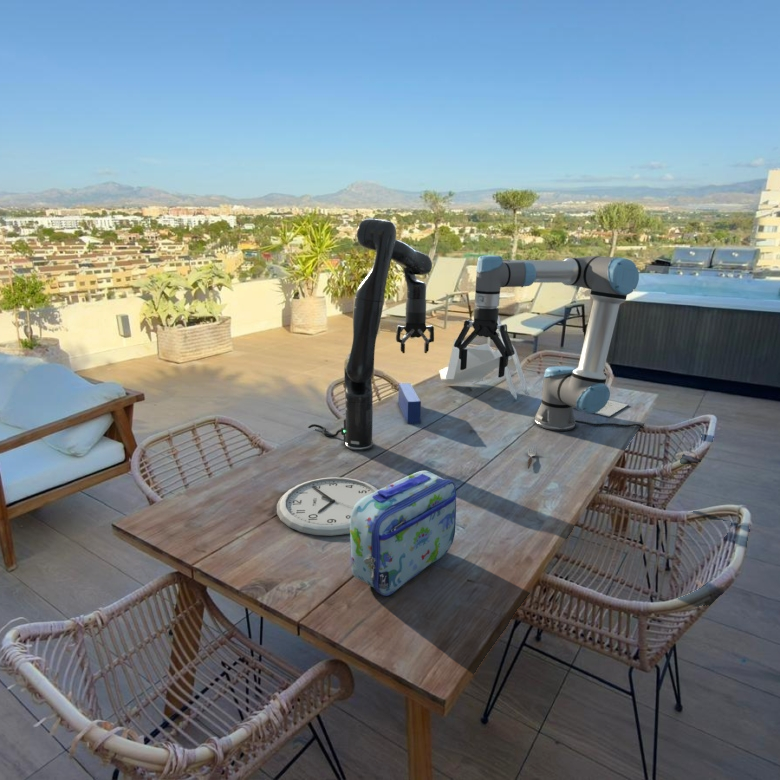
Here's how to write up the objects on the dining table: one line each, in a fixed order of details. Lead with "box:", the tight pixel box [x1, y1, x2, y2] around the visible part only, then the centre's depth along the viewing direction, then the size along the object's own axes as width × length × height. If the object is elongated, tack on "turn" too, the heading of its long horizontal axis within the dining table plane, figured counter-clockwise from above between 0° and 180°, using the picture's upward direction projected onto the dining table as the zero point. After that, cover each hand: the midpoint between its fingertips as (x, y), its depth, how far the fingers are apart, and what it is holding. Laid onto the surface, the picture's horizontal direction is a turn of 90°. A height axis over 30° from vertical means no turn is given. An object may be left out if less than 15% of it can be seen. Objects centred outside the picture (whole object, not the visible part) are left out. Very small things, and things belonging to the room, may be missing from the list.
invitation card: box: [595, 399, 629, 418], centre depth 226 cm, size 21×1×15 cm
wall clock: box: [276, 476, 380, 537], centre depth 142 cm, size 30×2×30 cm
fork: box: [527, 445, 537, 469], centre depth 172 cm, size 3×16×2 cm, turn 160°
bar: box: [397, 382, 422, 425], centre depth 214 cm, size 25×5×9 cm, turn 7°
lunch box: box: [349, 470, 457, 597], centre depth 114 cm, size 26×11×21 cm, turn 134°
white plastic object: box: [438, 315, 531, 400], centre depth 245 cm, size 37×45×31 cm
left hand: (414, 352), depth 199 cm, fingers open, 8 cm apart
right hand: (481, 372), depth 169 cm, fingers open, 13 cm apart
